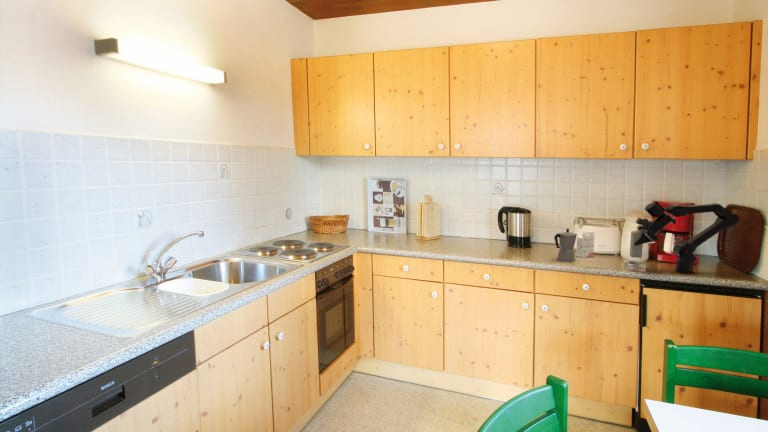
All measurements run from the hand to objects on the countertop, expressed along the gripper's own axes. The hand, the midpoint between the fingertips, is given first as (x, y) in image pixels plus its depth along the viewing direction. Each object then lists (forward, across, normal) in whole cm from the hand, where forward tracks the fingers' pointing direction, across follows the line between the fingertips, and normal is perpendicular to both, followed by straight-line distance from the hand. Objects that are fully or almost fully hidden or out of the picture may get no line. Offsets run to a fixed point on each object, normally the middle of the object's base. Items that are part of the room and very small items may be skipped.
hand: (633, 244), depth 232 cm
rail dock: (+8, 0, +10) cm, 13 cm away
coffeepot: (+32, -11, -13) cm, 36 cm away
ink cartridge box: (+23, -25, -4) cm, 34 cm away
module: (+4, 0, +6) cm, 7 cm away
